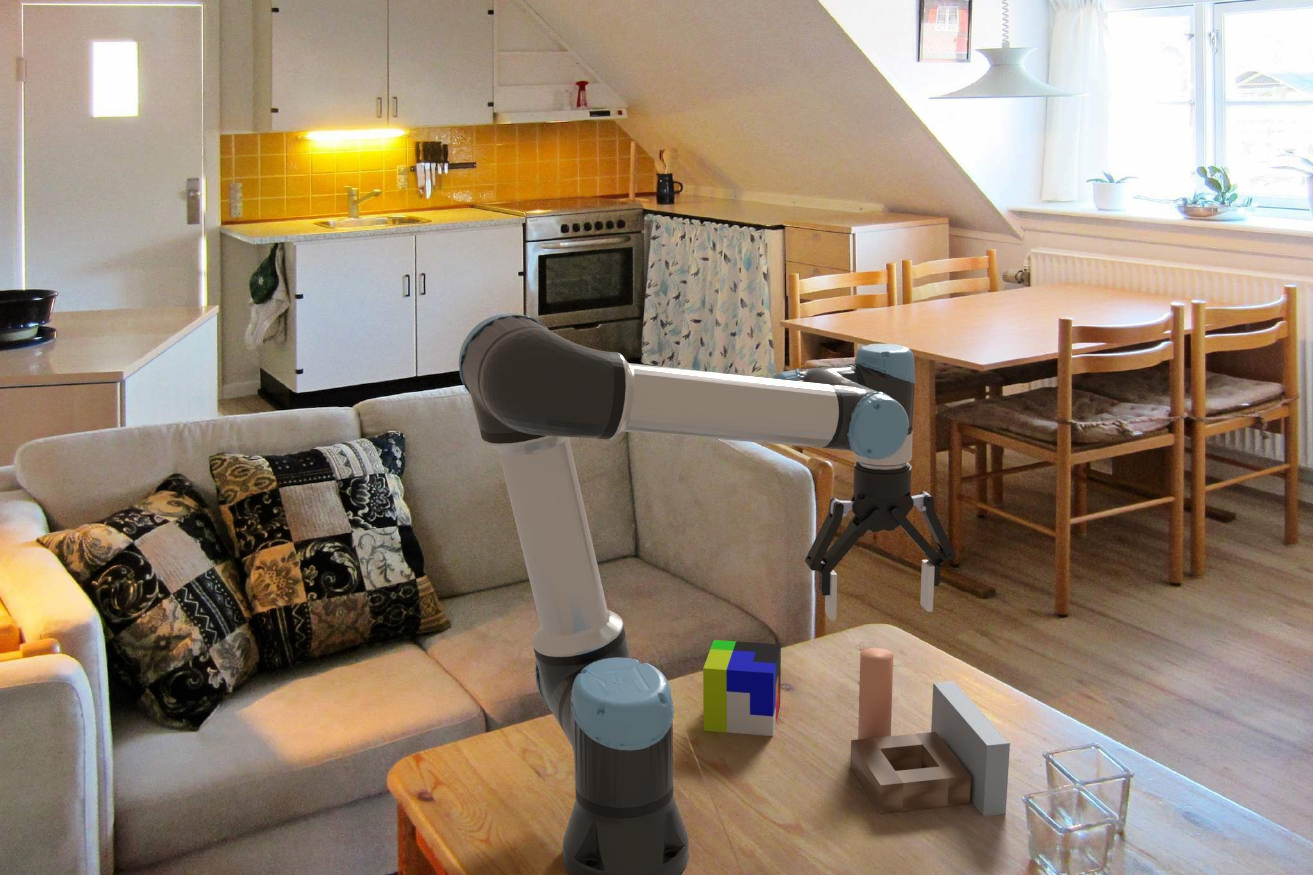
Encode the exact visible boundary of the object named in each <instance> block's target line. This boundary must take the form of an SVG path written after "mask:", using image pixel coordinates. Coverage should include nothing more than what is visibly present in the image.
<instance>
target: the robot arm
mask: <svg viewBox="0 0 1313 875" xmlns="http://www.w3.org/2000/svg"><path fill="white" fill-rule="evenodd" d="M915 365H916V364H915V355H914V353H913V351H912V350H911V349H910V348H908V347H907V346H903V345H899V344H895V343H870V344H867V345H861V346H859V348H858V349H857V350H856V354H855V358H854V363H850V364H847V365H836V366H834V365H833V366H824V367H814V368H813V367H812V368H802V369H801V368H795V369H792V370H786V371H780V372H778V373H775V374H773V376H771V378H770V377H761V376H752V375H741V374H732V373H725V372H724V373H723V372H714V371H704V370H698V369H697V370H696V369H689V368H688V369H685V368H675V367H668V366H667V367H666V366H657V365H650V364H649V365H648V364H641V363H640V364H639V363H629V362H628V361H627V359H625V357H624V356H623V354H621V353H619V352H615V351H605V350H600V349H595V348H590V347H587V346H584V345H581V344H578V343H575V342H573V341H571V340H569V339H566V338H564V337H562V336H560V335H559V334H557V333H555V332H553V331H552V330H550V329H549V328H548V327H547V326H546V325H545V324H543V323H542V322H541V321H539V319H536V318H534V317H532V316H529V315H523V314H518V313H509V312H508V313H500V314H496V315H493V316H489V317H488V318H486V319H483V320H482V321H481V322H478V323H477V325H475V326H474V327H473V328H472V329H471V330H470V331H469V333H468V334H467V336H466V337H465V339H464V340H463V342H462V344H461V347H460V351H459V355H458V369H459V376H460V377H459V378H460V380H461V382H462V384H463V386H464V389H465V390H466V391H467V392H468V393H469V395H470V397H471V400H472V405H473V409H474V413H475V416H476V420H477V425H478V428H479V432H480V436H481V440H482V442H483V443H484V444H486V445H487V446H489V447H491V448H492V449H495V450H496V451H497V452H498V456H499V461H500V464H501V468H502V473H503V477H504V481H505V484H506V488H507V493H508V496H509V501H510V504H511V509H512V513H513V517H514V521H515V525H516V529H517V533H518V535H517V536H518V539H519V542H520V548H521V551H522V554H523V559H524V564H525V568H526V572H527V575H528V580H529V583H530V588H531V592H532V595H533V599H534V604H535V607H536V608H535V609H536V612H537V617H538V622H539V624H540V626H539V627H538V628H537V630H536V631H535V633H534V634H533V637H532V639H531V642H532V643H531V644H532V647H533V652H534V656H535V661H534V676H535V684H536V687H537V691H538V693H539V695H540V697H541V700H543V702H544V704H545V705H546V707H548V709H549V710H550V711H551V714H552V715H553V716H554V718H555V719H556V721H557V723H558V725H559V726H560V727H561V729H562V731H563V733H564V735H565V736H566V738H567V740H568V741H569V743H570V745H571V747H572V751H573V758H574V759H573V760H574V761H573V762H574V763H573V765H574V787H575V801H574V804H573V807H572V811H571V812H570V817H569V820H568V823H567V826H566V829H565V833H564V836H563V839H562V840H563V841H562V858H563V866H564V868H565V870H566V871H567V873H568V874H569V875H680V874H682V872H683V871H684V870H685V868H686V867H687V865H688V862H689V856H690V855H689V854H690V852H689V851H690V850H689V835H688V833H687V829H686V827H685V824H684V821H683V819H682V816H681V813H680V811H679V808H678V806H677V803H676V800H675V797H674V740H673V739H674V732H673V731H674V730H673V729H674V727H673V726H674V725H673V722H674V715H675V714H674V713H675V706H674V701H673V698H672V690H671V684H670V683H669V680H668V679H667V677H666V676H665V674H663V672H661V671H660V669H658V668H657V667H655V666H654V665H651V664H650V663H648V662H644V663H641V662H640V660H639V659H635V658H632V657H631V652H630V648H629V644H628V640H627V635H626V630H625V626H624V622H623V618H622V617H621V616H620V615H619V614H617V613H616V612H614V611H612V610H610V609H608V605H607V602H606V596H605V592H604V588H603V584H602V580H601V574H600V571H599V565H598V562H597V557H596V552H595V548H594V544H593V538H592V534H591V530H590V526H589V525H590V524H589V521H588V518H587V517H588V516H587V512H586V507H585V503H584V499H583V494H582V491H581V486H580V481H579V477H578V476H579V475H578V471H577V467H576V463H575V459H574V454H573V450H572V446H571V445H572V444H571V441H570V438H580V439H582V438H583V439H584V438H585V439H595V440H596V439H597V440H613V439H615V438H616V437H617V436H618V435H619V434H620V433H622V432H627V433H638V434H639V433H640V434H652V435H661V436H662V435H664V436H675V437H686V438H687V437H688V438H689V437H690V438H700V439H701V438H702V439H712V440H723V441H725V440H726V441H733V442H734V441H737V442H748V443H760V444H772V445H773V444H774V445H782V446H783V445H785V446H798V447H809V448H821V449H826V450H827V449H829V450H836V451H837V450H838V451H839V450H840V451H847V452H848V451H849V452H853V458H854V459H855V461H856V462H855V463H854V465H853V495H852V498H850V499H851V500H840V499H838V498H837V497H832V498H830V499H829V503H828V505H829V506H828V512H827V515H826V517H825V519H824V521H823V523H822V525H821V527H820V528H819V531H818V533H817V535H816V537H815V539H814V541H813V543H812V545H811V547H810V549H809V551H808V553H807V555H806V557H805V559H804V562H805V564H806V565H807V566H808V568H809V569H810V570H811V571H813V572H814V571H816V572H818V590H819V592H820V594H821V595H822V596H823V597H824V614H826V616H827V618H829V620H830V621H837V609H838V608H837V602H838V601H837V600H838V598H837V597H838V574H837V573H836V571H835V570H834V569H836V567H837V565H839V563H840V562H841V561H842V560H843V558H844V557H845V556H846V555H847V554H848V553H849V551H850V550H851V548H852V547H853V546H855V544H856V543H857V541H858V540H859V539H860V538H862V537H863V536H865V534H866V533H867V532H868V531H870V532H872V533H877V532H878V533H879V532H881V531H888V532H890V531H891V532H892V531H895V530H896V529H897V528H901V529H902V530H903V531H904V532H905V534H907V536H908V537H909V538H910V539H911V540H912V541H913V542H914V544H915V545H916V546H917V547H918V548H919V549H920V550H921V551H922V553H924V555H925V556H926V557H927V558H928V559H922V560H921V572H920V573H921V576H920V602H919V603H920V606H921V607H922V608H923V609H924V610H925V611H926V612H927V613H932V612H934V591H935V590H934V589H935V587H939V586H940V583H941V573H942V572H941V569H942V567H944V566H945V561H947V560H954V559H955V557H956V552H955V551H954V549H953V547H952V544H951V542H950V540H949V538H948V536H947V534H946V532H945V530H944V528H943V526H942V523H941V522H940V520H939V517H938V515H937V513H936V511H935V510H936V509H935V499H934V497H933V496H932V495H930V494H929V493H928V492H927V491H926V490H922V491H920V492H919V493H918V494H917V495H916V494H915V495H912V494H911V491H912V473H913V472H912V471H913V469H912V468H913V467H912V465H911V464H910V462H911V461H912V458H913V426H914V409H915V408H914V407H915V406H914V405H915V404H914V402H915V385H916V383H917V382H916V381H917V380H916V371H915V370H916V369H915V368H916V367H915ZM914 506H915V508H916V509H917V510H918V511H919V512H920V513H921V514H922V516H923V518H924V520H925V522H926V525H927V526H928V529H929V531H930V533H931V535H932V537H933V539H934V541H935V544H936V546H937V548H938V549H937V550H935V548H933V547H932V545H931V544H930V543H929V542H928V541H927V540H926V538H924V536H923V535H922V534H921V533H920V532H919V531H918V529H917V528H916V527H915V525H914V524H913V523H912V522H911V521H910V520H909V518H907V516H908V514H909V513H910V511H911V510H913V508H914ZM849 511H851V512H852V513H853V514H854V515H853V517H852V518H851V519H850V520H849V521H848V524H847V526H846V528H845V529H844V530H843V531H842V533H840V535H839V537H837V539H836V540H835V541H834V542H833V543H832V541H833V540H834V538H835V536H836V534H837V532H838V530H839V527H840V526H841V524H842V521H843V518H845V517H846V516H847V515H848V513H849ZM831 544H832V545H831Z"/></svg>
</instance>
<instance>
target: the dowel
mask: <svg viewBox="0 0 1313 875" xmlns="http://www.w3.org/2000/svg"><path fill="white" fill-rule="evenodd" d="M893 678H894V653H893V652H892V651H891V650H888V649H886V648H879V647H870V648H869V647H868V648H864V649H863V650H861V651H860V655H859V687H858V688H859V690H858V691H859V692H858V693H859V696H858V726H857V727H858V731H857V739H867V738H877V737H888V736H892V716H893V715H892V714H893V713H892V712H893V685H894V683H893Z"/></svg>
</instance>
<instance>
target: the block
mask: <svg viewBox="0 0 1313 875" xmlns="http://www.w3.org/2000/svg"><path fill="white" fill-rule="evenodd" d="M849 764H850V768H851V770H852V772H853V774H854V775H855V776H856V778H857V780H858V781H859V783H860V784H861V786H862V788H863V789H864V791H865V792H866V794H867V796H868V797H869V799H870V801H871V802H872V804H873V806H874V807H875V808H876V810H877V811H878V812H877V813H879V815H881V814H889V813H897V812H898V813H899V812H905V811H906V812H907V811H916V810H917V811H918V810H924V809H933V808H934V809H935V808H944V807H945V808H946V807H954V806H961V805H962V806H964V805H970V801H971V800H970V785H971V775H970V774H969V773H968V771H967V770H966V769H965V768H964V766H963V765H962V764H961V763H960V761H959V760H958V759H957V758H956V756H955V755H954V754H953V753H952V751H951V750H950V749H949V748H948V746H947V745H946V744H945V743H944V741H943V740H942V739H941V738H940V736H939V735H938V734H937V733H936V732H931V731H929V732H920V733H910V734H909V733H908V734H900V735H891V736H888V737H877V738H867V739H858V738H857V739H851V740H850V763H849Z"/></svg>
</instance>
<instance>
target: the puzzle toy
mask: <svg viewBox="0 0 1313 875" xmlns="http://www.w3.org/2000/svg"><path fill="white" fill-rule="evenodd" d="M781 656H782V645H781V644H779V643H766V642H750V641H749V642H748V641H734V640H733V641H732V640H721V639H720V640H718V639H713V642H712V645H711V646H710V649H709V652H708V654H707V658H706V660H705V663H704V666H703V667H702V672H703V673H702V680H703V681H702V684H703V686H702V687H703V689H702V692H703V693H702V694H703V695H702V696H703V698H702V699H703V701H702V702H703V732H705V731H706V732H717V733H731V734H742V735H755V736H767V737H773V736H774V733H775V730H776V724H777V721H778V718H779V714H780V709H781V692H782V691H781V690H782V689H781V684H782V683H781V681H782V680H781V679H782V678H781V675H782V672H781V671H782V670H781V669H782V660H781V659H782V657H781Z"/></svg>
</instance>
